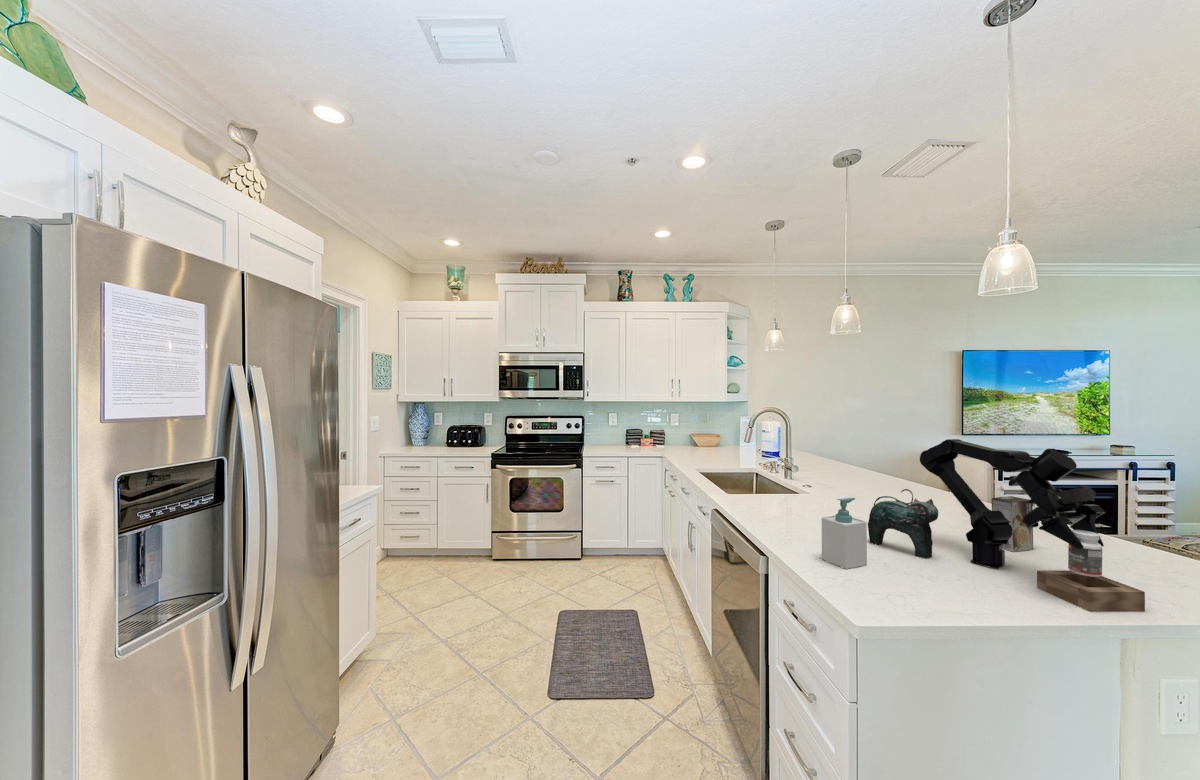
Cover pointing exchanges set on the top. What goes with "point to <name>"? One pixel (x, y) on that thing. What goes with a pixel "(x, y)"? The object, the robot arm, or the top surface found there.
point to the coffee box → (1015, 522)
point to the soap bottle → (844, 538)
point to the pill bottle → (1086, 555)
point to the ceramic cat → (904, 522)
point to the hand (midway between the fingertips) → (1091, 547)
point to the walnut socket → (1091, 591)
